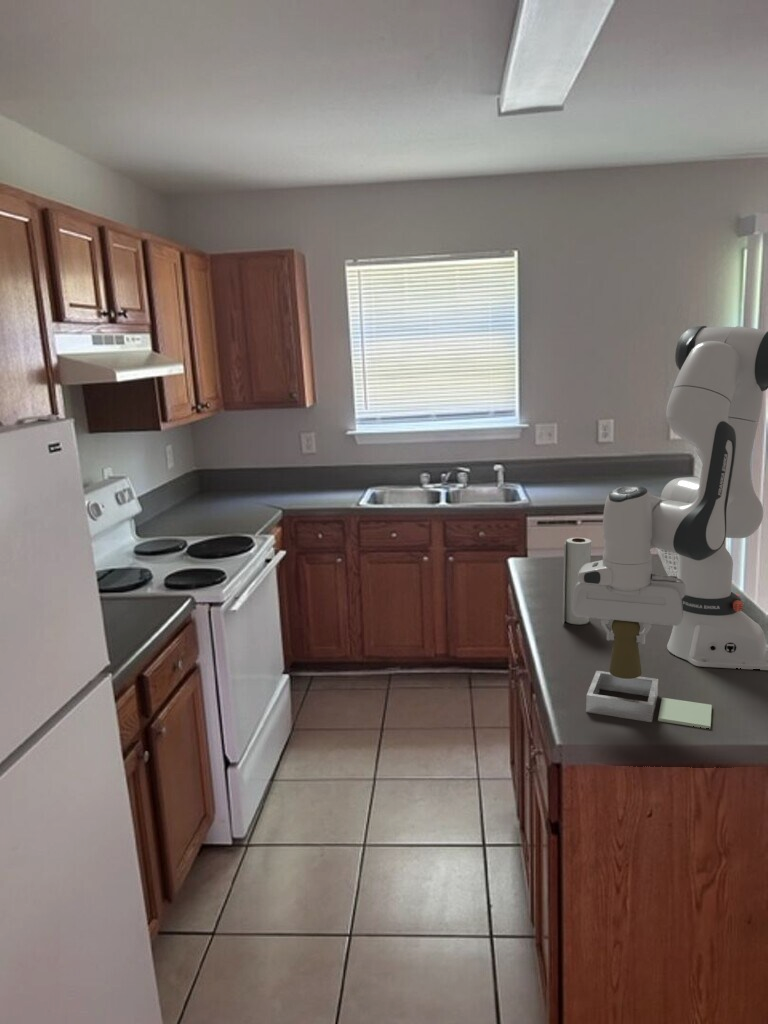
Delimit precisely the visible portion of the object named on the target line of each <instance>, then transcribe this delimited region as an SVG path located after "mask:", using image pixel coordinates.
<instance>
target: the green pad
mask: <svg viewBox="0 0 768 1024" xmlns="http://www.w3.org/2000/svg"><path fill="white" fill-rule="evenodd" d="M712 707H713V705H712V704H710V703H709V704H708V703H702V702H696V701H694V702H693V701H689V700H683V699H682V700H681V699H675V698H674V699H673V698H666V697H661V701H660V707H659V712H658V718H657V722H662V723H669V724H675V725H681V726H689V727H693V726H694V728H700V727H701V728H700V729H706V728H709V729H708V730H711V727H712V726H711V724H712V711H713V710H712Z"/></svg>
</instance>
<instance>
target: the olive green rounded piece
mask: <svg viewBox="0 0 768 1024" xmlns="http://www.w3.org/2000/svg"><path fill="white" fill-rule="evenodd" d="M611 629H612V631H613V633H614V635H615V636H614V638H615V639H614V641H613V644H612V649H611V656H610V662H609V669H608V672H610V674H612V675H613V676H615V677H619V678H624V679H632V678H637V677H639V676H640V677H641V676H642V666H641V657H640V650H639V644H638V643H636V640H637V639H636V636H637V635H638V634H639V632H641V623H640V622H630V621H619V620H612V624H611Z"/></svg>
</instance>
